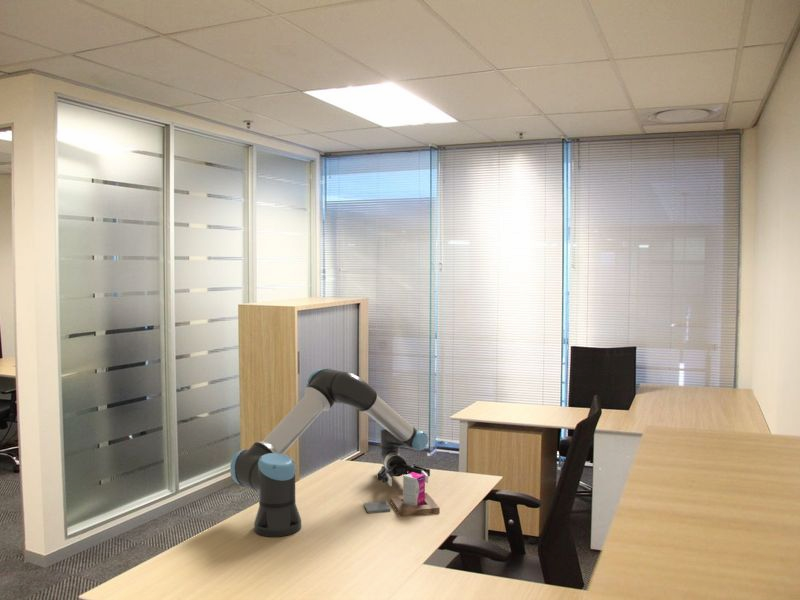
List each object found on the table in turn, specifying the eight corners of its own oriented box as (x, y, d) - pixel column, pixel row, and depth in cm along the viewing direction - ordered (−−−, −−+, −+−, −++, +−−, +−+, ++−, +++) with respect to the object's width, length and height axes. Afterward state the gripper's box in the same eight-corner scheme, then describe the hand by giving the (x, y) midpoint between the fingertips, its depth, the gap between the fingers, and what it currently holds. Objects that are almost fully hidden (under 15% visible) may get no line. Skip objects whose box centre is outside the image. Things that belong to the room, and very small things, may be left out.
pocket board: (400, 516, 237) (400, 511, 237) (389, 501, 252) (389, 496, 252) (439, 512, 240) (439, 507, 240) (426, 497, 256) (426, 492, 255)
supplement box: (416, 511, 242) (415, 478, 241) (402, 507, 246) (402, 475, 245) (425, 506, 247) (425, 474, 246) (412, 502, 250) (411, 471, 250)
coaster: (367, 513, 240) (367, 510, 240) (363, 505, 248) (363, 503, 248) (390, 511, 242) (390, 508, 242) (385, 503, 250) (385, 501, 250)
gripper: (426, 471, 277) (442, 488, 257) (364, 476, 271) (375, 494, 251) (426, 452, 277) (441, 468, 256) (364, 457, 271) (375, 473, 250)
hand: (409, 480), depth 253 cm, fingers open, 13 cm apart
